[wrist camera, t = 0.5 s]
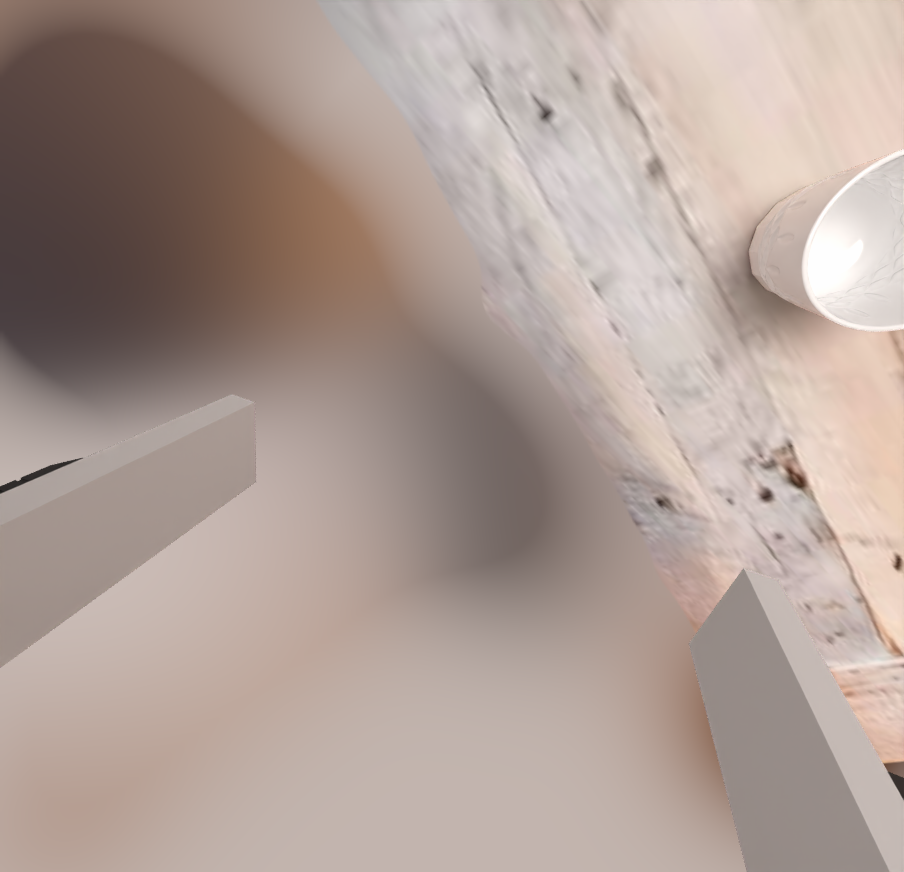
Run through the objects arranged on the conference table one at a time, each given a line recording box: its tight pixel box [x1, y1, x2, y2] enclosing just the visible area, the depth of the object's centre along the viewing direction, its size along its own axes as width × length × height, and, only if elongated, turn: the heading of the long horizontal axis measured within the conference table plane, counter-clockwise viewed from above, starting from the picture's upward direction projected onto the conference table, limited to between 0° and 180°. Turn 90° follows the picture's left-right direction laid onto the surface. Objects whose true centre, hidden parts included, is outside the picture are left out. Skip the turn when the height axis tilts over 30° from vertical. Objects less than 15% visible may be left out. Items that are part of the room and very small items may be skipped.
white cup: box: [749, 149, 904, 332], centre depth 23 cm, size 8×8×10 cm
